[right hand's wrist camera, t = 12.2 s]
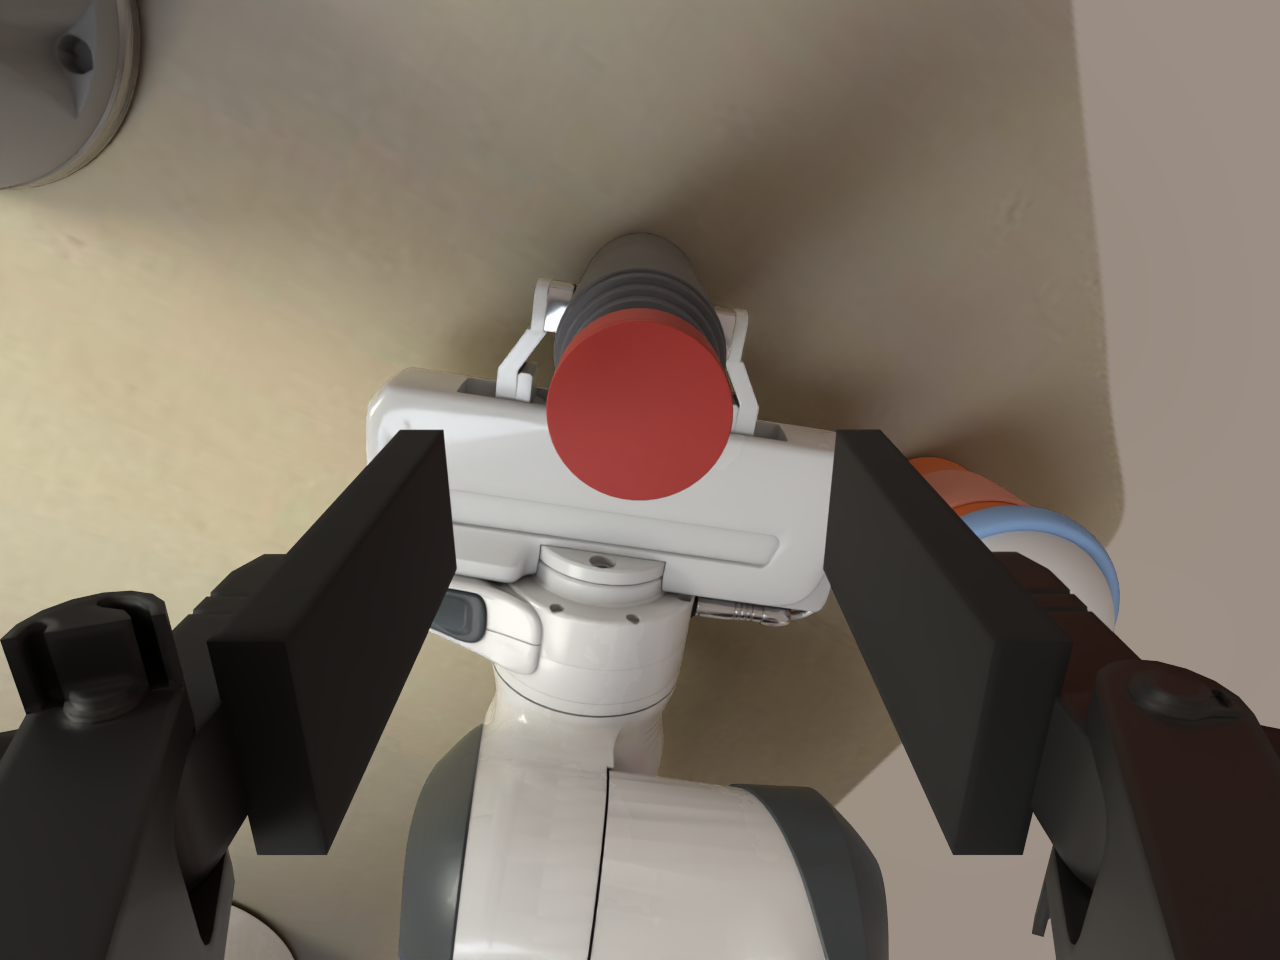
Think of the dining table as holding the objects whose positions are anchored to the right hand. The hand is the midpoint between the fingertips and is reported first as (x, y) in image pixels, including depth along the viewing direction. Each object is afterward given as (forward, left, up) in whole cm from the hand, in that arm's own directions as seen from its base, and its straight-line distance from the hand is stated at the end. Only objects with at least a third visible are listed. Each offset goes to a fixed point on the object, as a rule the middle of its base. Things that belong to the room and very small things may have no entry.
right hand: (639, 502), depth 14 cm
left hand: (0, +1, -18) cm, 18 cm away
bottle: (0, 0, -25) cm, 25 cm away
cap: (0, 0, -6) cm, 6 cm away
